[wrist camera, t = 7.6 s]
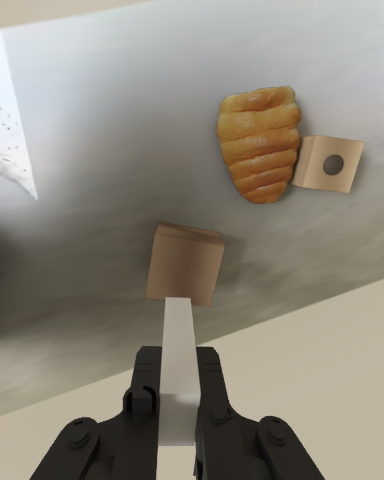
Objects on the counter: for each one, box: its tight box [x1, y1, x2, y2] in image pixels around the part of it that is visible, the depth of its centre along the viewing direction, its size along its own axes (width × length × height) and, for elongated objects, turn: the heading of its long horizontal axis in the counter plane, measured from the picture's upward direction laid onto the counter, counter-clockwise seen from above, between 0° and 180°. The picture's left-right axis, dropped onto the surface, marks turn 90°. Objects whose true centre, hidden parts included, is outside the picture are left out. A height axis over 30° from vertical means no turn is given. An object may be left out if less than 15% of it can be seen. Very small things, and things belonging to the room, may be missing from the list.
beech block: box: [288, 135, 365, 193], centre depth 22 cm, size 4×4×4 cm
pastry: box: [216, 86, 301, 204], centre depth 22 cm, size 9×7×4 cm
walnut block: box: [145, 222, 225, 307], centre depth 25 cm, size 6×6×4 cm
